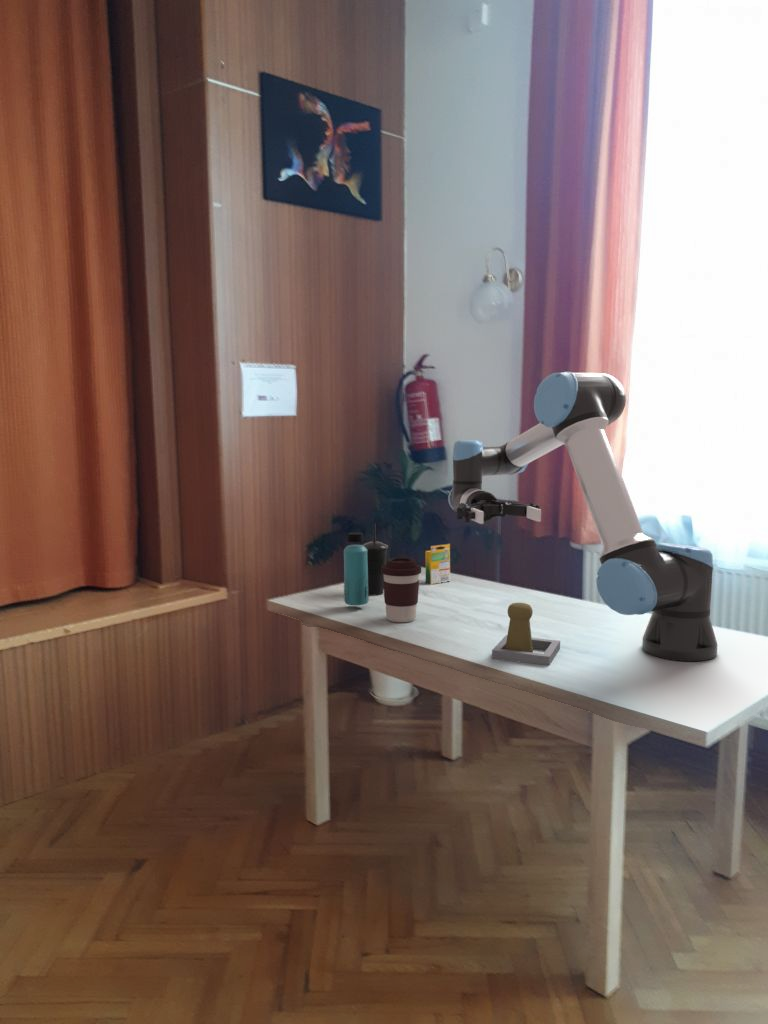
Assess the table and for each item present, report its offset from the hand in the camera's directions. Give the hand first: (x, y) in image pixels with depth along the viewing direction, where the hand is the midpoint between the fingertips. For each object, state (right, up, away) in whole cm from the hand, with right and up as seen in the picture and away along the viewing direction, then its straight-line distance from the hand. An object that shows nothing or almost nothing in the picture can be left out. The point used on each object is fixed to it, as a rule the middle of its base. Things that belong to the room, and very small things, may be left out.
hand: (511, 516), depth 178 cm
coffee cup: (-24, -26, +21) cm, 41 cm away
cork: (0, -29, -8) cm, 30 cm away
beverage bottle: (-36, -24, +32) cm, 54 cm away
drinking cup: (-31, -22, +48) cm, 62 cm away
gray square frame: (+2, -29, -7) cm, 30 cm away
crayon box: (-12, -20, +62) cm, 66 cm away
